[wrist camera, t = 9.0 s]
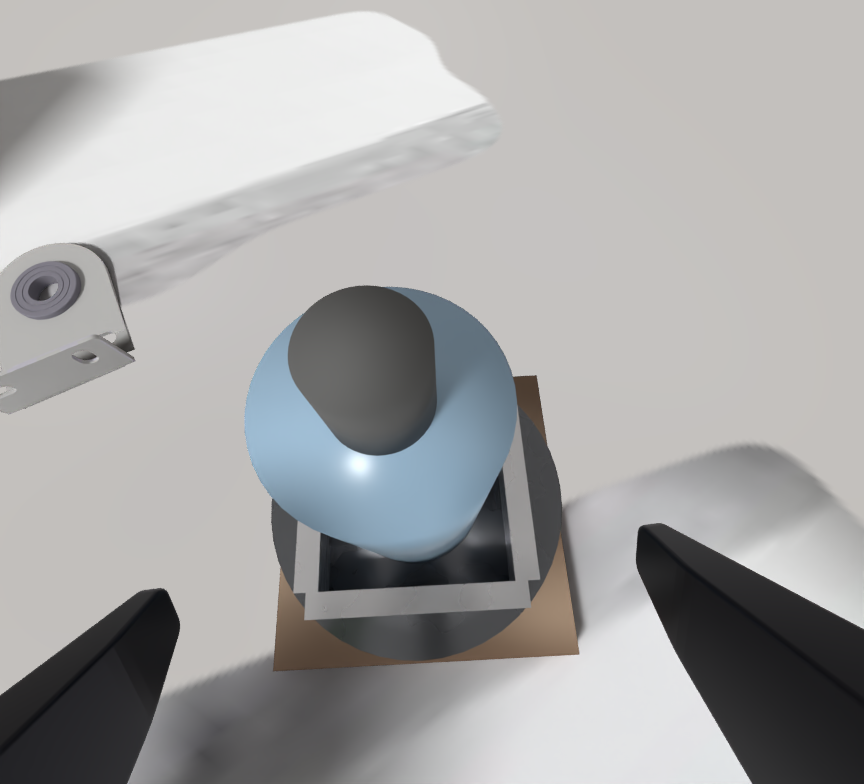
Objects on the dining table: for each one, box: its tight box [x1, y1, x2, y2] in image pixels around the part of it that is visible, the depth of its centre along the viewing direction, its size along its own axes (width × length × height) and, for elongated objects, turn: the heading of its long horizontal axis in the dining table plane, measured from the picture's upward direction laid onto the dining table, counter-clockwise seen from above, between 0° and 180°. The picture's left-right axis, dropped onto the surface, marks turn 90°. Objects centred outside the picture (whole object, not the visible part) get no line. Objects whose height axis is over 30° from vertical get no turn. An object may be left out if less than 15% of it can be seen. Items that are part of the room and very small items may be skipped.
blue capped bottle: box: [245, 286, 517, 563], centre depth 12 cm, size 5×5×12 cm
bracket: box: [0, 243, 135, 414], centre depth 24 cm, size 7×10×4 cm, turn 27°
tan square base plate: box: [271, 375, 579, 671], centre depth 18 cm, size 12×12×6 cm
